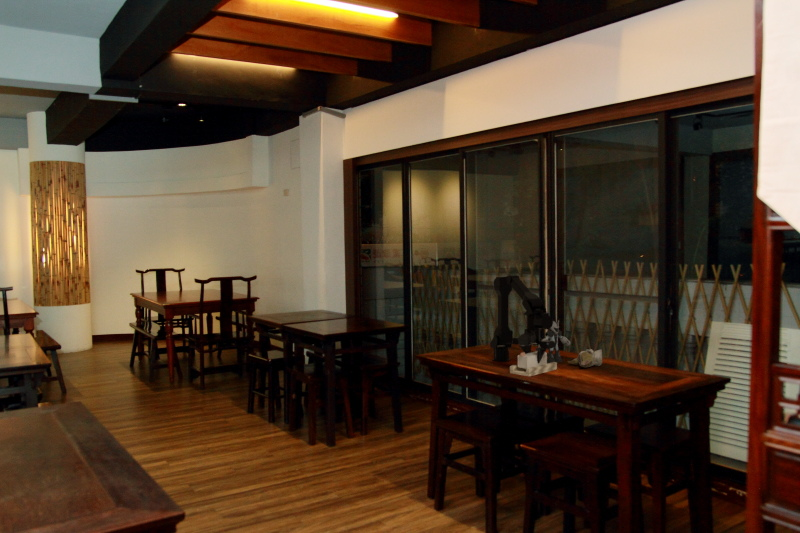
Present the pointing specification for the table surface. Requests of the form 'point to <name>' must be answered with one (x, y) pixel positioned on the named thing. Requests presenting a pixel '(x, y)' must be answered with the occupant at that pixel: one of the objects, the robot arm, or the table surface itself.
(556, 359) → the robot
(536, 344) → the robot arm
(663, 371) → the table surface
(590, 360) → the ceramic sculpture
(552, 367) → the cradle
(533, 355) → the white bar with tab
